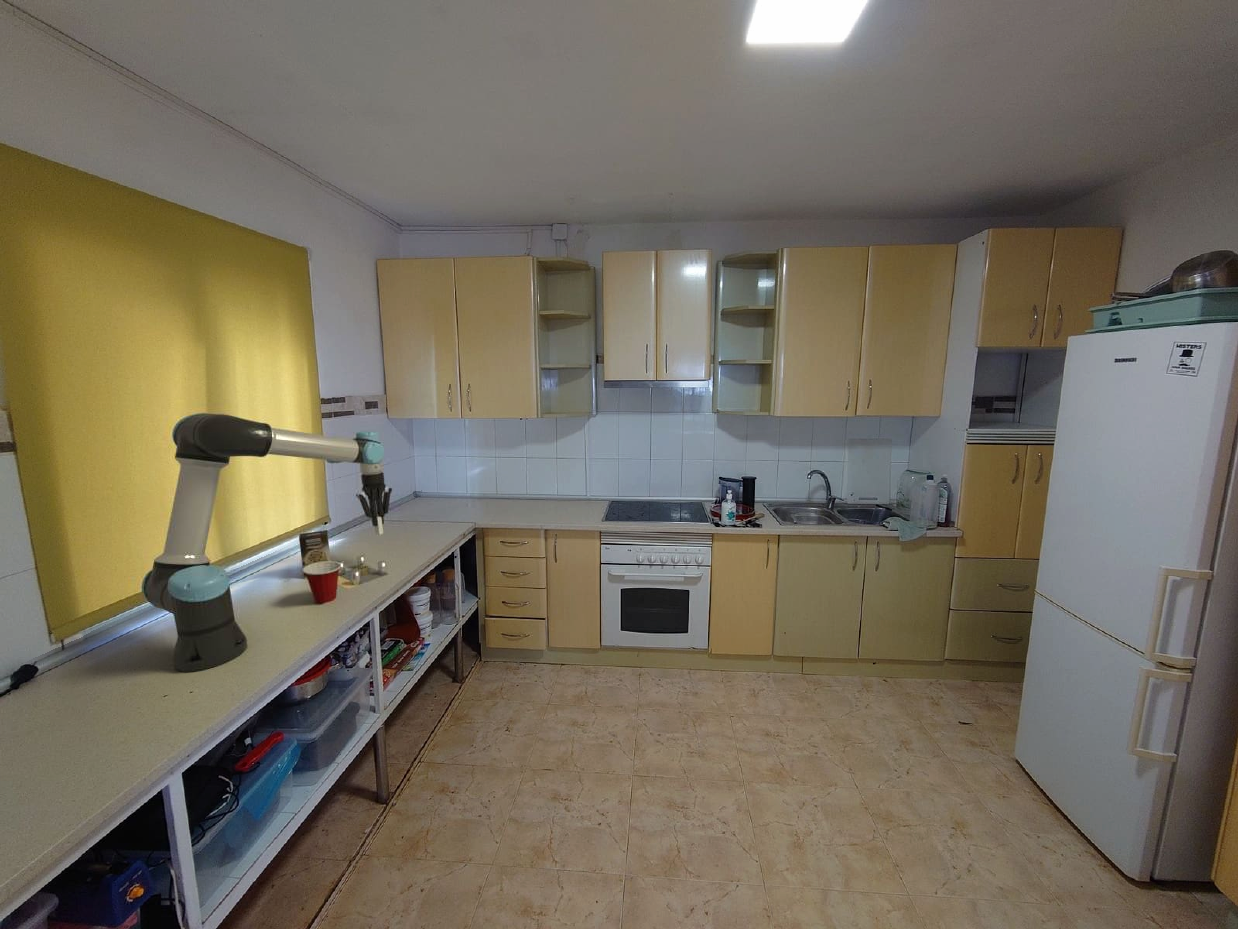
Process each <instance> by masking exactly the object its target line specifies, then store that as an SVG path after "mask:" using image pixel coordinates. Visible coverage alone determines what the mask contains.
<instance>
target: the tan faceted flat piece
mask: <svg viewBox="0 0 1238 929" xmlns="http://www.w3.org/2000/svg"><path fill="white" fill-rule="evenodd" d="M369 567H370V565H367V564H366V565H363V566H359V567H358V566H357V567H355V568H356V570H360V576H366V575H369V574H370V568H369Z"/></svg>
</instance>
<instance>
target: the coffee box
mask: <svg viewBox="0 0 1238 929" xmlns="http://www.w3.org/2000/svg"><path fill="white" fill-rule="evenodd" d="M328 533H329V532H328V529H325V530H318V531H311V532H305V533H304V532H303V533H299V537H298V540H299V548H300V549H299V550H300V556H301V563H302V564H301V565H302V569H303V568H304V567H306V566H308V565H310V564H313V563H317V562H323V561H332V559H331V551H330V543H329V534H328ZM302 573H303V579H304V580H307V577H306V575H305V573H304V571H303V570H302Z"/></svg>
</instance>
